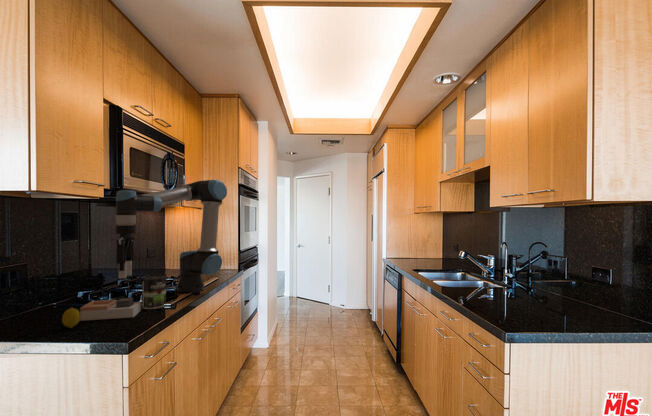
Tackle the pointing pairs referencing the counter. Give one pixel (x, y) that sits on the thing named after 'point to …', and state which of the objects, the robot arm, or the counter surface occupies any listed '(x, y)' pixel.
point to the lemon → (71, 317)
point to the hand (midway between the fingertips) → (125, 276)
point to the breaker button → (124, 302)
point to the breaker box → (107, 310)
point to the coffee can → (154, 292)
